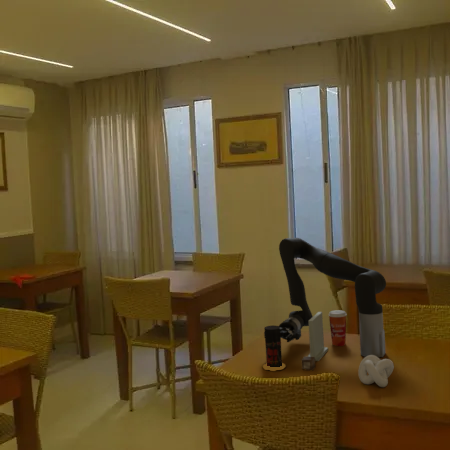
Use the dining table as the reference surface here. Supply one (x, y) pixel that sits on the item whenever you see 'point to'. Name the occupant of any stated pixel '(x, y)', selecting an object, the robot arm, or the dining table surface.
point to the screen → (316, 337)
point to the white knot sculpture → (375, 370)
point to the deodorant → (273, 346)
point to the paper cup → (338, 327)
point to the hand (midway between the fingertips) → (277, 339)
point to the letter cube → (308, 363)
